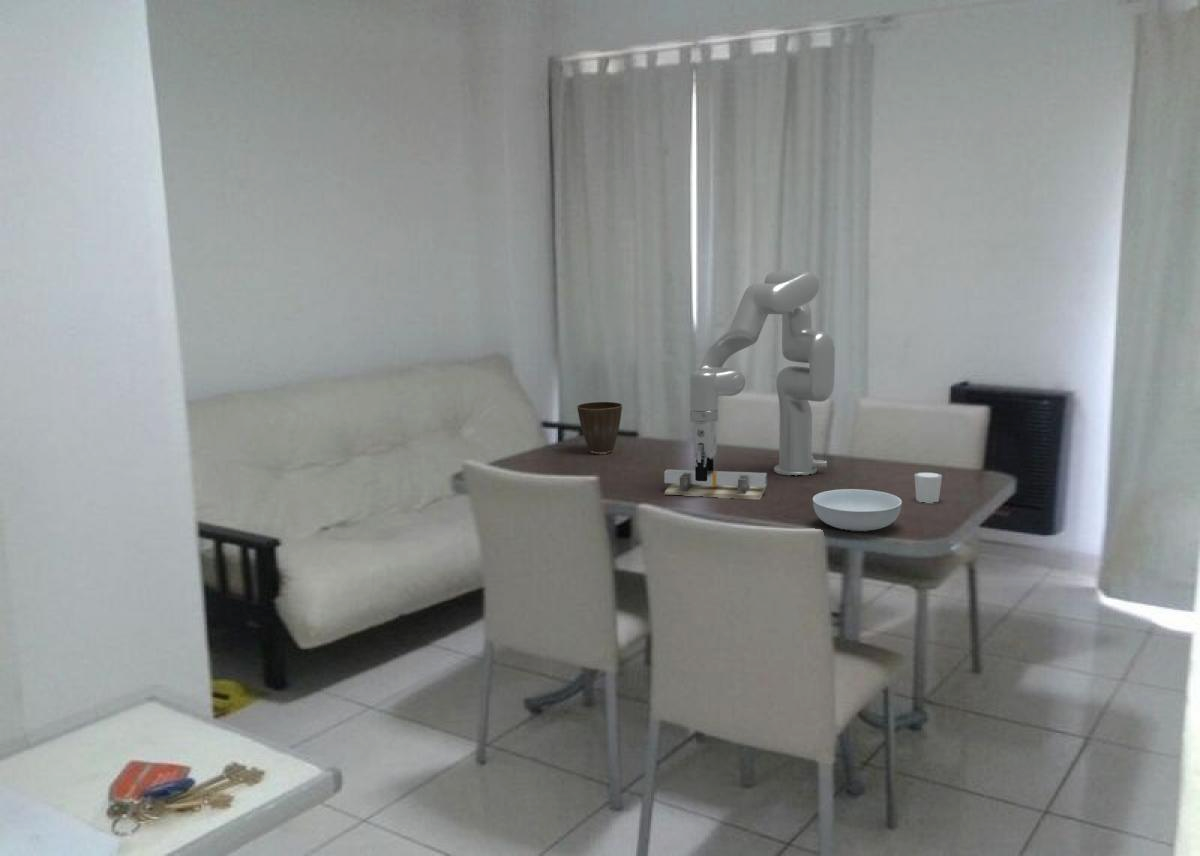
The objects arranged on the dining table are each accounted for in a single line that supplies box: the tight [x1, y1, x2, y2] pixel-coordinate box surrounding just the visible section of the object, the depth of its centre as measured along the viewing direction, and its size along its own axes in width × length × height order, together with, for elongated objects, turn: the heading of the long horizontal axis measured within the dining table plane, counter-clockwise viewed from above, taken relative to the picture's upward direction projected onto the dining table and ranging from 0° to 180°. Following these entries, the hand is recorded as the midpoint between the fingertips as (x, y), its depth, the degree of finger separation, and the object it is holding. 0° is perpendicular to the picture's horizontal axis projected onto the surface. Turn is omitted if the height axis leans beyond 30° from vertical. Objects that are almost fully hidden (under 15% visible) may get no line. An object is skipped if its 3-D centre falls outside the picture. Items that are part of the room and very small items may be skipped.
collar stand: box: [664, 475, 766, 501], centre depth 284 cm, size 26×12×5 cm, turn 74°
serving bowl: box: [812, 488, 903, 532], centre depth 247 cm, size 21×21×7 cm
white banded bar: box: [664, 469, 768, 488], centre depth 284 cm, size 28×3×3 cm, turn 74°
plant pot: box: [576, 401, 623, 452], centre depth 343 cm, size 15×15×16 cm
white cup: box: [914, 471, 943, 504], centre depth 270 cm, size 7×7×7 cm
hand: (704, 476), depth 285 cm, fingers open, 9 cm apart
